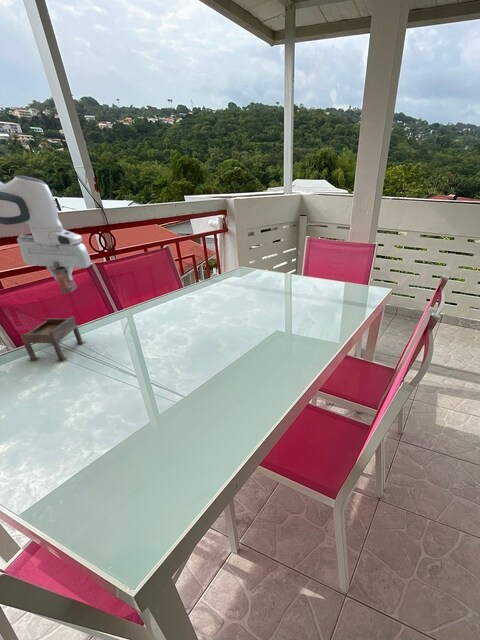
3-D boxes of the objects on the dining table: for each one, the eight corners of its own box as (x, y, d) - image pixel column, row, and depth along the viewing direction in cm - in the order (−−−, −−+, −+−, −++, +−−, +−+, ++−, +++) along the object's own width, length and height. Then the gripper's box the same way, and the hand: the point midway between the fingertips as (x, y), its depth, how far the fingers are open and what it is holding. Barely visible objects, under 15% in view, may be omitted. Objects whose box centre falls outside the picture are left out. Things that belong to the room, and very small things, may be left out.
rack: (31, 360, 108) (17, 331, 103) (54, 342, 120) (43, 315, 114) (63, 360, 109) (51, 332, 104) (83, 342, 121) (73, 316, 115)
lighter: (69, 286, 120) (58, 257, 115) (79, 286, 121) (68, 257, 115) (58, 293, 114) (47, 262, 108) (69, 293, 114) (58, 262, 109)
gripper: (8, 235, 104) (26, 280, 112) (77, 239, 106) (90, 283, 114) (21, 232, 109) (37, 275, 117) (86, 236, 111) (98, 278, 119)
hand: (63, 279), depth 115 cm, fingers closed on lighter, 2 cm apart
